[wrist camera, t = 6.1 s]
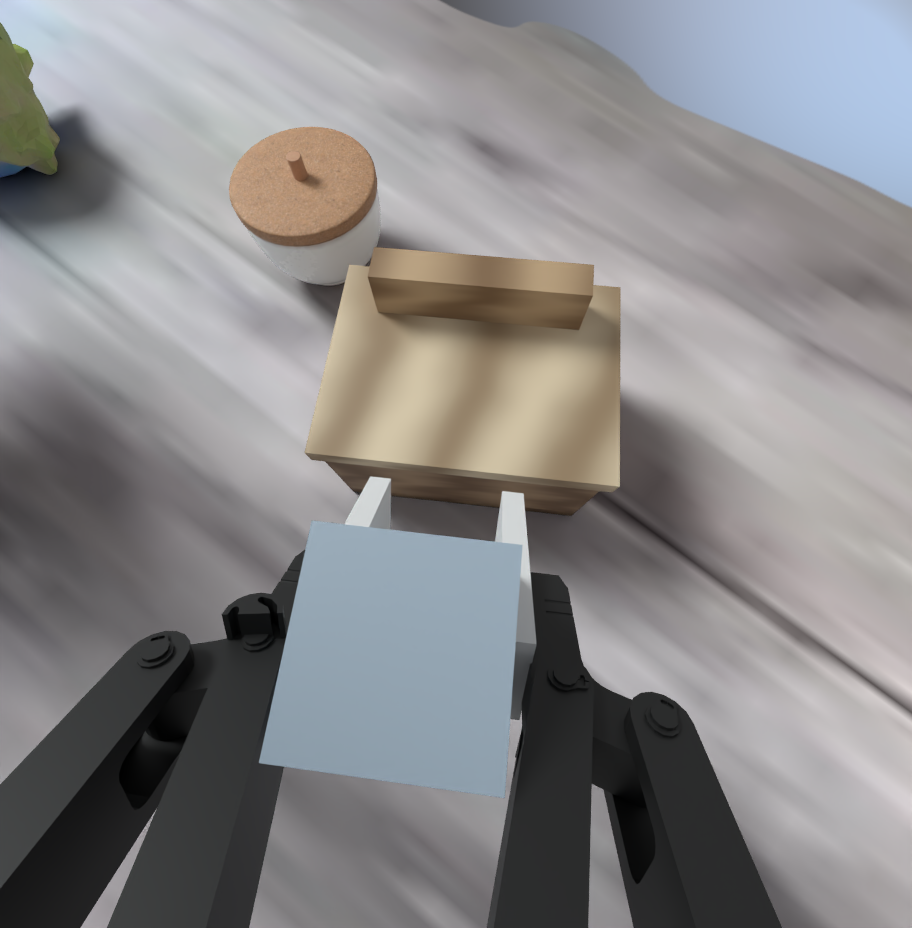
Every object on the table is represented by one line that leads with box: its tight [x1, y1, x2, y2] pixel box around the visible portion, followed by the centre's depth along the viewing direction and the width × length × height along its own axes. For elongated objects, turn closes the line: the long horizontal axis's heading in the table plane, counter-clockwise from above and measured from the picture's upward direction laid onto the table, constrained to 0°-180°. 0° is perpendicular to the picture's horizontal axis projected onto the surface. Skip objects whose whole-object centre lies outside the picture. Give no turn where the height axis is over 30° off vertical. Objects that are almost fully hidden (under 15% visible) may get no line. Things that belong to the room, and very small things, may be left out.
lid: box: [305, 247, 620, 492], centre depth 25 cm, size 17×13×4 cm
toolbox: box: [325, 461, 599, 516], centre depth 30 cm, size 16×12×8 cm
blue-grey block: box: [259, 521, 522, 798], centre depth 13 cm, size 4×4×11 cm
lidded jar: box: [229, 127, 381, 286], centre depth 35 cm, size 11×11×9 cm
